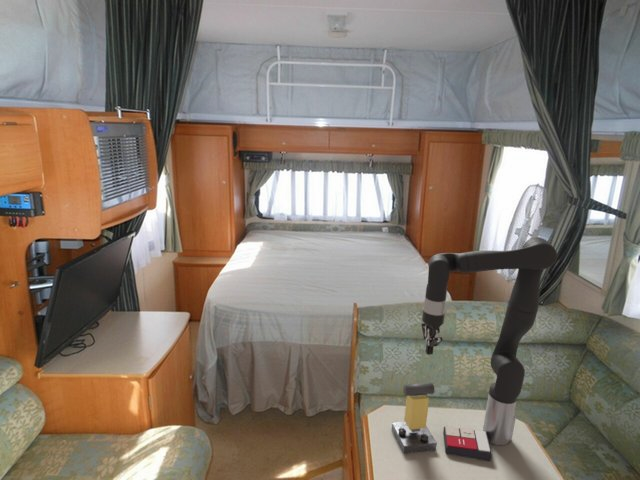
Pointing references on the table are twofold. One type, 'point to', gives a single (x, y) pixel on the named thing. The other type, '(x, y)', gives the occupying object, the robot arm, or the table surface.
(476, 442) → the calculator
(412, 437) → the base
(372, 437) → the table surface
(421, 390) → the yellow toy mallet
